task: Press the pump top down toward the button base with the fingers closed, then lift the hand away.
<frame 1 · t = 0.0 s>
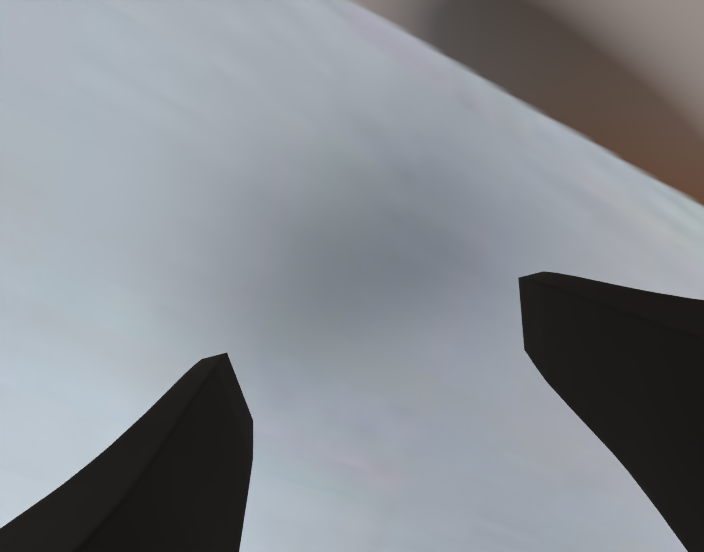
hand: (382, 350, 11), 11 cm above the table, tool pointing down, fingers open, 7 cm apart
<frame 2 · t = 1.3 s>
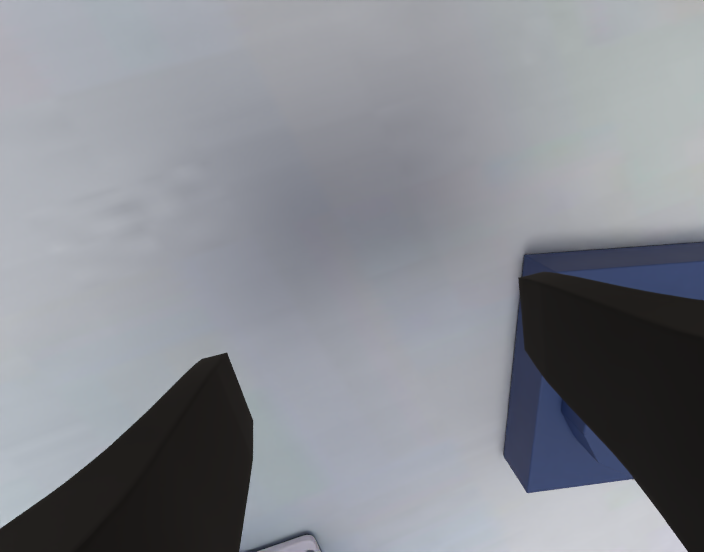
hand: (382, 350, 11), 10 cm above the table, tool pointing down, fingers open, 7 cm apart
button base: (601, 355, 23), on the table
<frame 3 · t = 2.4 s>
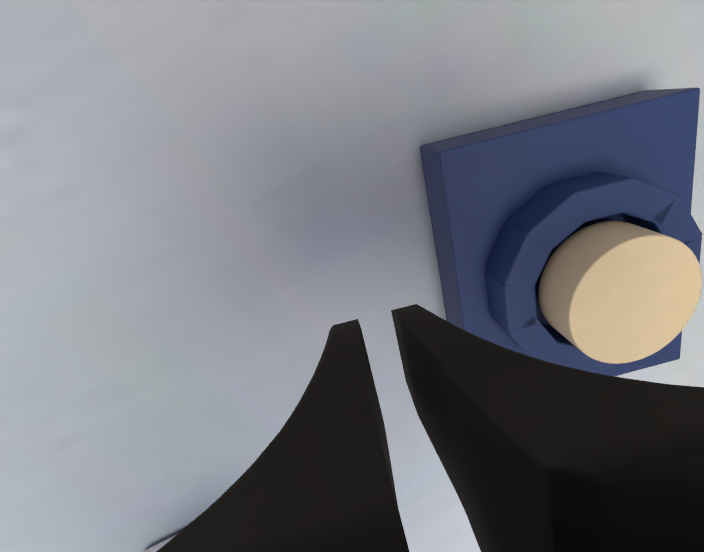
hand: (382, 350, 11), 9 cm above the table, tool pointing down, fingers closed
button base: (541, 249, 21), on the table
pump top: (615, 291, 16), point 5 cm above the table, slide at 0.1 cm
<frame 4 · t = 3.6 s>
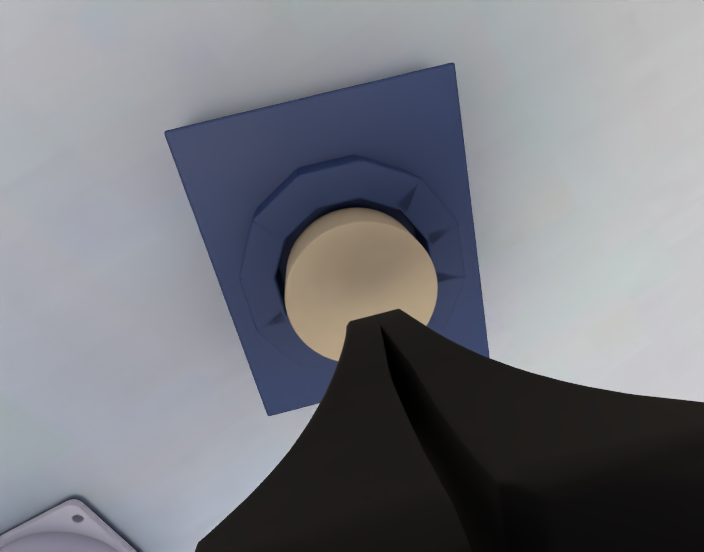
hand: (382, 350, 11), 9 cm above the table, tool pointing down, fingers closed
button base: (342, 241, 19), on the table
pump top: (358, 285, 14), point 5 cm above the table, slide at 0.1 cm
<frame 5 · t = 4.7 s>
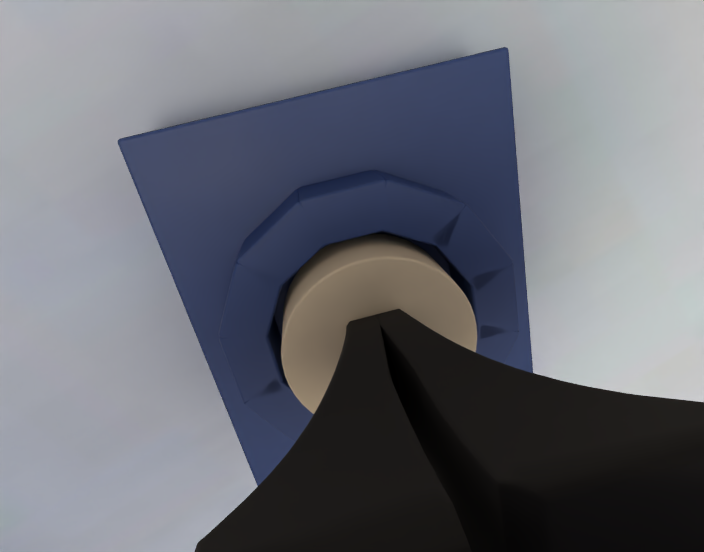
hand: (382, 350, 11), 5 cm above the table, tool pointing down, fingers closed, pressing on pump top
button base: (353, 274, 15), on the table
pump top: (374, 331, 11), point 4 cm above the table, slide at -0.7 cm, touching gripper
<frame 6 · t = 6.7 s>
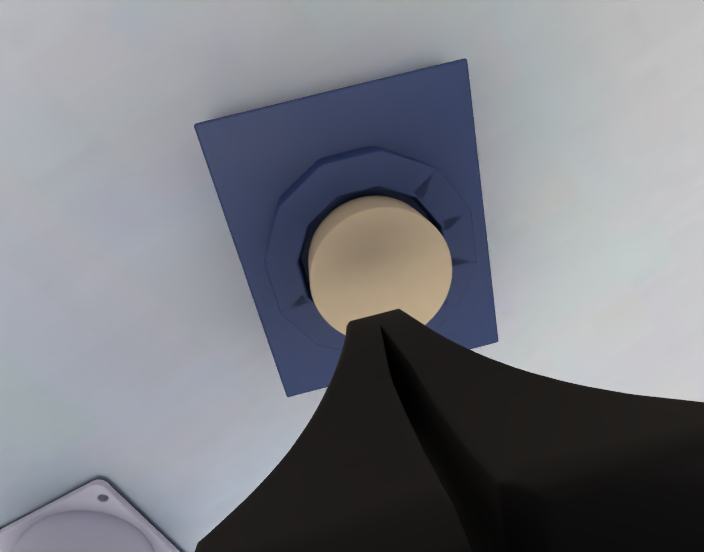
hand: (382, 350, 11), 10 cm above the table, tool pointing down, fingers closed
button base: (357, 230, 20), on the table
pump top: (377, 268, 15), point 5 cm above the table, slide at 0.1 cm
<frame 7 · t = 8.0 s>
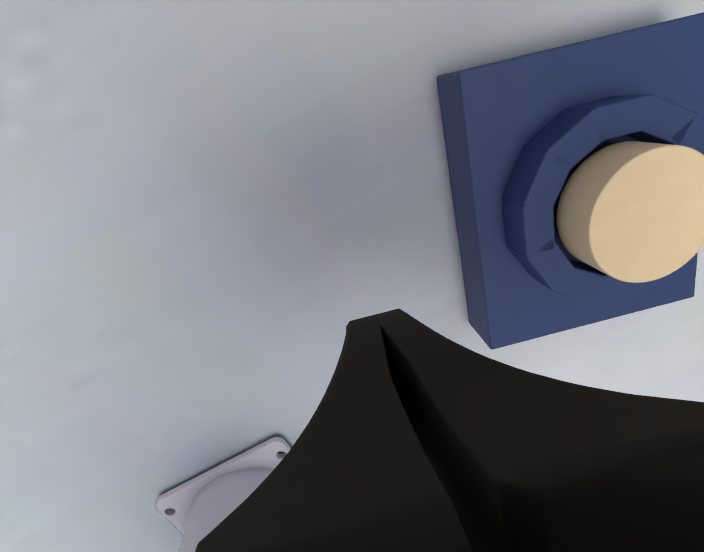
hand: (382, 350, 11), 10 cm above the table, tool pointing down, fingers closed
button base: (556, 188, 21), on the table
pump top: (634, 211, 16), point 5 cm above the table, slide at 0.1 cm
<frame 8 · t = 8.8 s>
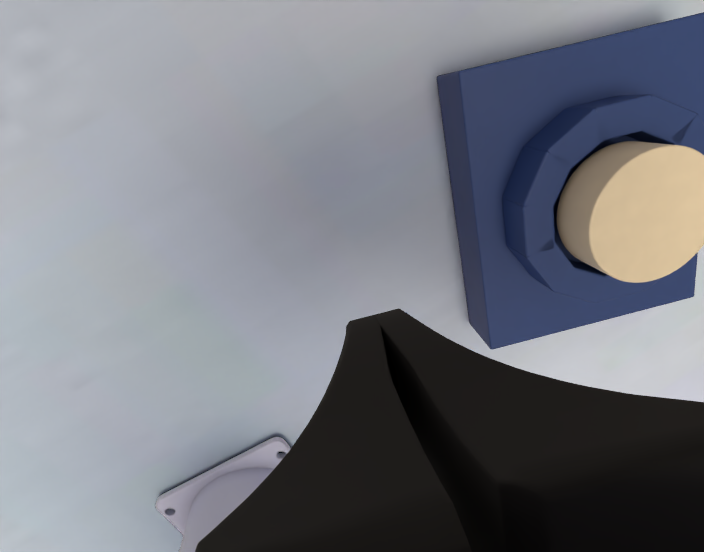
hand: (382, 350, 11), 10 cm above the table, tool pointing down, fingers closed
button base: (556, 188, 21), on the table
pump top: (634, 211, 16), point 5 cm above the table, slide at 0.1 cm
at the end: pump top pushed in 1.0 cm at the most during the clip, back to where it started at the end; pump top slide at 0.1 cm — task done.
